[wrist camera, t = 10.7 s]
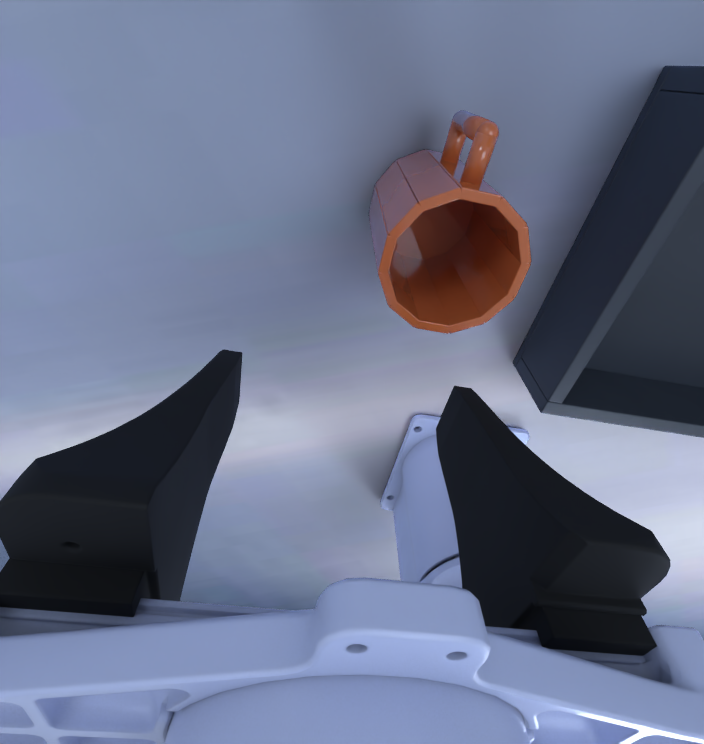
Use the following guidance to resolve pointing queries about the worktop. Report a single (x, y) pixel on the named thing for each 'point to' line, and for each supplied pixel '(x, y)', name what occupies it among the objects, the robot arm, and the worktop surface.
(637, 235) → the bin
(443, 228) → the cup
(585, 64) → the worktop surface
